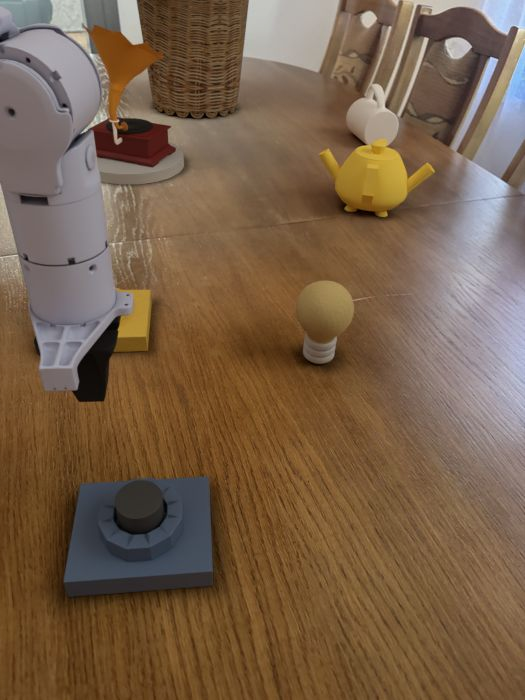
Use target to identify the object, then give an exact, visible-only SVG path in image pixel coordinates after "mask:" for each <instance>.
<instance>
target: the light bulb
mask: <svg viewBox="0 0 525 700" xmlns="http://www.w3.org/2000/svg"><path fill="white" fill-rule="evenodd" d="M295 306H296V307H295V314H296V318H297V321H298V323H299V325H300V326H301V329H303V330H304V332H305V334H304V337H303V338H304V339H303V347H302V355H303V356H304V358H305V359H306V360H307V361H309V362H311V363H313V364H317V365H322V364H326V363H330V362H331V361H332V360H333V359H334V357H335V353H336V352H335V351H336V348H337V343H338V342H337V341H338V336H340V335H341V334H342V333H343V332H345V331H346V330H347V329H348V327H349V326H350V324H351V323H352V321H353V318H354V314H355V304H354V299H353V297H352V295H351V294H350V292H349V290H347V289H346V287H344V286H343V284H340V282H339V283H338V282H337V281H334V280H318V281H314V282H312V283H310V284H308V285H306V286H305V287H304V288H302V290H301V291H300V293H299V295H298V297H297V301H296V304H295Z"/></svg>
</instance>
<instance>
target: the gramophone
mask: <svg viewBox="0 0 525 700" xmlns="http://www.w3.org/2000/svg"><path fill="white" fill-rule="evenodd" d="M82 26H83V29H84V30H85V31H86V32H87V33H88V35H89V36H90V37H91V39H92V41H93V44H94V46H95V48H96V50H97V54H98V56H99V58H100V60H101V62H102V63H103V65H104V68H105V70H106V73H107V76H108V80H109V87H108V88H109V89H108V109H107V111H108V115H109V118H106V119H104V120H103V121H101V122H99V123H96V124H95V125H93V126H91V127H89V128H87V130H89V129H91V130H93V132H94V139H95V147H96V154H97V162H98V169H99V172H100V178H101V183H105V184H113V185H121V186H122V185H123V186H124V185H125V186H126V185H127V186H128V185H129V186H131V185H132V186H133V185H144V184H145V185H146V184H150V183H151V184H153V183H158V182H162V181H165V180H167V179H172V178H173V177H175V176H177V175H179V174H180V173H181V171H182V170H183V169H184V168H185V157H184V156H185V155H184V150H183V149H182V148H181V147H180V146H179V145H177V144H175V143H172V142H171V141H169V129H171V127H172V125H167V124H163V123H156V122H151V121H149V120H147V119H143V118H137V117H135V118H134V117H118V116H117V110H118V107H119V105H120V104H119V103H120V101H121V99H122V95H123V94H124V91H125V89H126V87H127V86H128V85H129V83H130V82H131V81H133V80H134V79H135V78H136V77H138V76H139V75H141V74H142V73H143V72H144V71H145V70H147V68H148V67H149V66H150V65H151V64H153V63H154V62H155V61H156V60H158V59H161V58H164V57H163V56H162V55H163V54H164V52H154V51H153V50H152V48H151V47H150V45H149V44H148V42H147V43H143V42H141V43H134V44H133V42H131V41H130V39H128V38H127V37H126V35H124V34H123V32H121V31H117V30H110V29H107V28H104V27H102V26H100V25H97V24H93V28H92V30H91V29H89V28H88V27H87V26H85V25H84V24H82Z"/></svg>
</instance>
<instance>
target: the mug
mask: <svg viewBox="0 0 525 700" xmlns="http://www.w3.org/2000/svg"><path fill="white" fill-rule="evenodd" d="M374 96H375V99H373V98H374ZM345 123H346V127H347V129H348V130H349V131H350V132H351V133H352V134H353V135H354V136H355V137H357V138H358V140H360V141H361V142H362V143H364V144H365V145H371V143H372V142H374V141H377V140H378V139H385V140H387V147H388V146H389V145H391V144H392V143H393V141H394V140H395V139H396V137H397V135H398V132H399V127H400V125H399V123H400V122H399V119H398V117H397V115H396V114H395V113H394V112H392V110H390V109H388V108H387V107H386V98H385V92H384V89H383V87H382V86H381V85H380V84H378V83H371V84H370V85H369V86H368V88H367V89H366V94H365V97H361V98H359V99H356V100H355V101H354V102H353V103H352V104H351V105H350V106H349V108H348V109H347V113H346V116H345Z"/></svg>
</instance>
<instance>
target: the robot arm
mask: <svg viewBox="0 0 525 700" xmlns="http://www.w3.org/2000/svg"><path fill="white" fill-rule="evenodd" d="M102 102H103V83H102V77H101V74H100V72H99V69H98V67H97V65H96V63H95V61H94V59H93V58H92V56H91V55H90V53H89V52H88V51H87V49H86V48H85V47H84V46H83V45H82V44H81V43H79V42H78V41H77V40H76V39H75V38H73V37H71V36H70V35H68V34H67V33H66V31H65V30H63V28H62V27H60V26H59V25H56V24H52V23H45V22H42V23H41V22H39V23H31V24H29V25H28V24H27V25H26V26H23V27H19V26H17V25H16V23H14V22H13V13H12V11H10V10H9V9H7V8H5V7H3V6H1V5H0V188H1V192H2V196H3V200H4V205H5V207H6V211H7V212H6V213H7V216H8V220H9V224H10V227H11V228H10V229H11V233H12V235H13V239H14V244H15V248H16V252H17V256H18V261H19V265H20V268H21V272H22V276H23V280H24V284H25V288H26V292H27V296H28V300H29V301H28V304H27V305H28V306H27V307H28V309H27V310H28V315H29V317H30V320H31V325H32V328H33V331H34V339H33V345H34V349H35V352H36V353H37V356H39V357H40V358H39V365H38V372H39V376H40V380H41V384H42V387H43V391H44V392H68V391H69V392H70V391H71V392H72V394H73V396H74V397H75V399H76V400H77V402H79V403H97V402H100V403H101V402H104V401H105V400H106V396H107V390H108V383H109V377H110V376H109V375H110V359H111V357H112V356H113V353H115V352H114V349H115V347H116V344H117V338H118V332H119V330H118V328H119V326H120V319H121V316H126V315H129V314H131V313H132V312H133V306H134V298H133V294H131V293H129V292H119V291H117V290H116V288H117V287H116V286H115V285H116V284H115V278H114V271H113V262H112V256H111V247H110V240H109V232H108V231H109V230H108V225H107V217H106V209H105V201H104V193H103V189H102V188H103V186H102V182H101V178H100V172H99V169H98V162H97V154H96V147H95V139H94V132H93V130H91V129H89V128H88V127H89V126H90V124H92V122H93V121H94V120H95V118H96V116H97V114H98V113H99V111H100V108H101V105H102ZM86 129H87V130H86ZM88 129H89V130H88ZM85 130H86V131H85ZM115 287H116V288H115Z"/></svg>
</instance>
